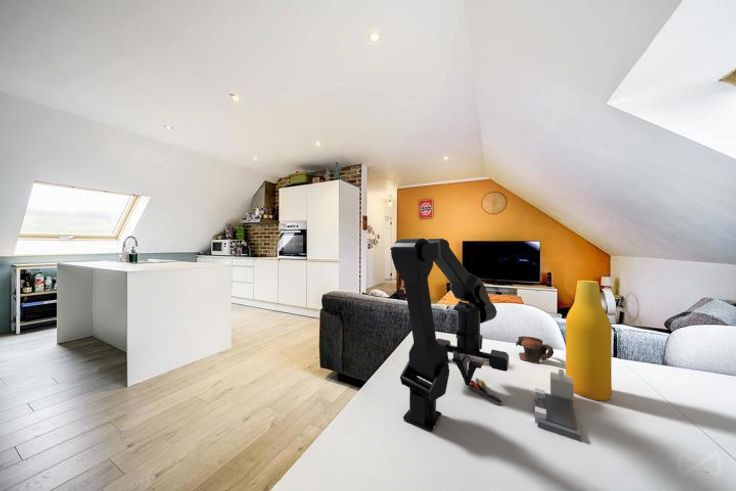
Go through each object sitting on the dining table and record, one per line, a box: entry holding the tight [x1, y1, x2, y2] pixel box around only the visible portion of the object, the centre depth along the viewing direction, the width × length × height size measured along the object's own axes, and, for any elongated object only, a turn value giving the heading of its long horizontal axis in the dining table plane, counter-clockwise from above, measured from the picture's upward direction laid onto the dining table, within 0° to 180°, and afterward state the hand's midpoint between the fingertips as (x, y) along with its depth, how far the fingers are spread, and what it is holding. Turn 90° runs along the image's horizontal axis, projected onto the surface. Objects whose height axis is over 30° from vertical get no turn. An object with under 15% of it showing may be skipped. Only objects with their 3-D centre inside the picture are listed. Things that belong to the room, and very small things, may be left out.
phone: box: [534, 387, 582, 442], centre depth 57 cm, size 14×8×2 cm, turn 147°
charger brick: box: [549, 368, 575, 405], centre depth 64 cm, size 4×4×7 cm
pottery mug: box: [515, 335, 555, 364], centre depth 87 cm, size 12×10×8 cm
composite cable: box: [467, 376, 503, 407], centre depth 65 cm, size 10×5×2 cm, turn 9°
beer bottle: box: [565, 279, 613, 402], centre depth 67 cm, size 9×9×29 cm
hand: (467, 385), depth 68 cm, fingers closed
